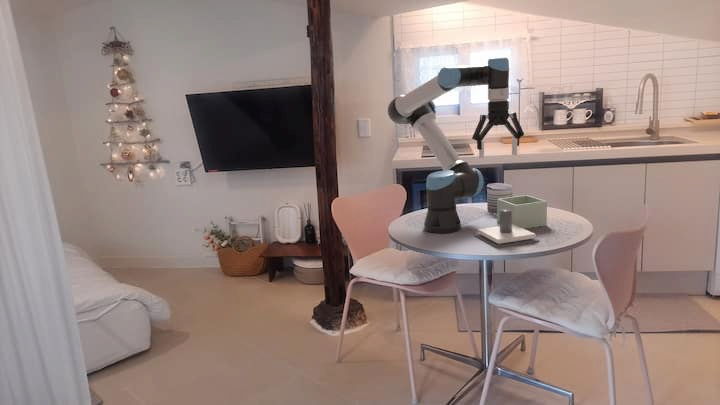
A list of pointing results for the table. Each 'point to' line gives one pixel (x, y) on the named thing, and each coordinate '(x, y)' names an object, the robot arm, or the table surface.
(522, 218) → the box
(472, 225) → the table surface
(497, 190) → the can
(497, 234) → the lid
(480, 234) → the mat
